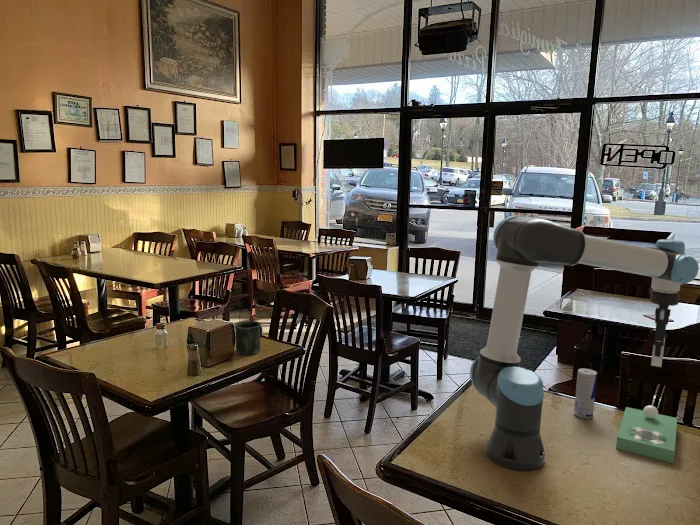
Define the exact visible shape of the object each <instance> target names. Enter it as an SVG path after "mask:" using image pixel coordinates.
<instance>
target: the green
mask: <svg viewBox="0 0 700 525" xmlns="http://www.w3.org/2000/svg"><path fill="white" fill-rule="evenodd" d="M677 423H678V418H677V417H673V416H670V415H664V414H659V413H658V416H657V417H656V418H654V419H649V418H647V417H646V416H645V415H644V413H643V409H638V408H632V407H628V406H625V410H624V413H623V416H622V419H621V422H620V426H619V430H618V432H617V437H616V446H615V449H616V450H621V451H625V452H626V453H627V452H628V453H632V454H635V455H640V456H643V457H646V458H647V457H648V458H650V459H651V458H652V459H654V460H655V459H656V460H659V461H663V462H667V463H671V464H674V460H675V453H676V439H677V425H678V424H677Z"/></svg>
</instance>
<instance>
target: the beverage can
mask: <svg viewBox="0 0 700 525" xmlns="http://www.w3.org/2000/svg"><path fill="white" fill-rule="evenodd" d="M597 380H598V372H597V371H596V370H593V369H590V368H578V370H577V377H576V388H575V396H574V397H575V399H574V409H573V410H574V411H573V414H575V415H576V417H579V418H581V419H591V418H593V417H594V407H595V399H596V398H595V397H596V389H597V388H596V387H597Z"/></svg>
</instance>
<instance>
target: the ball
mask: <svg viewBox="0 0 700 525" xmlns="http://www.w3.org/2000/svg"><path fill="white" fill-rule="evenodd" d="M642 411H643V413H644V415H645V416H646V417H647V418H649V419H654V418H656V417H657V416H658V414H659V411H658V408H657V407H656V406H653V405H650V404H649V405H646V406H644V408H643V409H642Z"/></svg>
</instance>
